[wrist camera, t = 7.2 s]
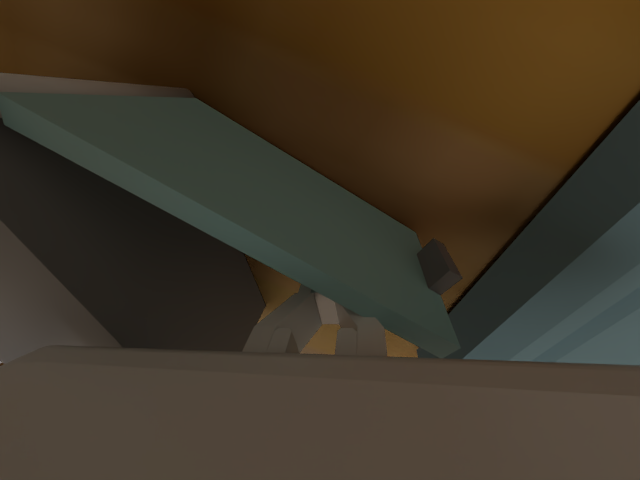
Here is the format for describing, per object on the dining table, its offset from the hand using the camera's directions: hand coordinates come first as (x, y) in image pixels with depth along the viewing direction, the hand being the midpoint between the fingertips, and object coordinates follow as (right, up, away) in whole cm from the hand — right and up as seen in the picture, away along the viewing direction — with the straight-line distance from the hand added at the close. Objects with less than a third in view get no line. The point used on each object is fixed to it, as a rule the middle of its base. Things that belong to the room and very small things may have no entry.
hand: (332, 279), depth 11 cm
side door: (-1, +6, +2) cm, 7 cm away
